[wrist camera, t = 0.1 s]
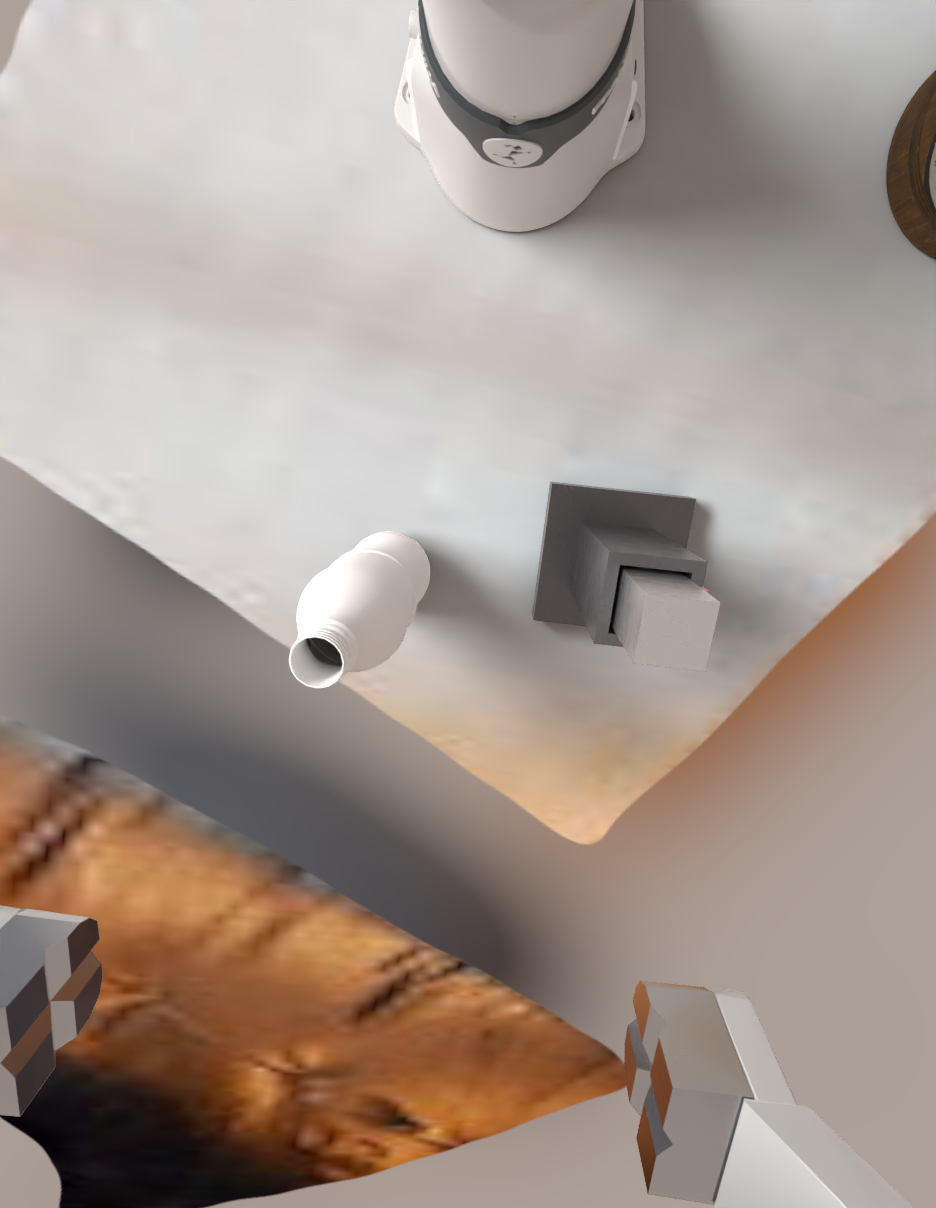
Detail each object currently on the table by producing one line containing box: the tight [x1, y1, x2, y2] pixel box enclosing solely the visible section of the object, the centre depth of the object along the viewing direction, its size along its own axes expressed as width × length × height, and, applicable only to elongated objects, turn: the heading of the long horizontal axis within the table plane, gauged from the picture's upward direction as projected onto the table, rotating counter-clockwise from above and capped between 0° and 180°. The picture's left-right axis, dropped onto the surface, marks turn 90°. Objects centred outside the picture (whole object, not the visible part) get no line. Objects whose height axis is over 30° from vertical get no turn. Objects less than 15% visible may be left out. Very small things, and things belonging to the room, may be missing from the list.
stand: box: [532, 482, 710, 647], centre depth 48 cm, size 12×12×17 cm
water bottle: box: [289, 531, 430, 688], centre depth 45 cm, size 7×7×25 cm
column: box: [610, 565, 721, 672], centre depth 44 cm, size 4×4×20 cm
